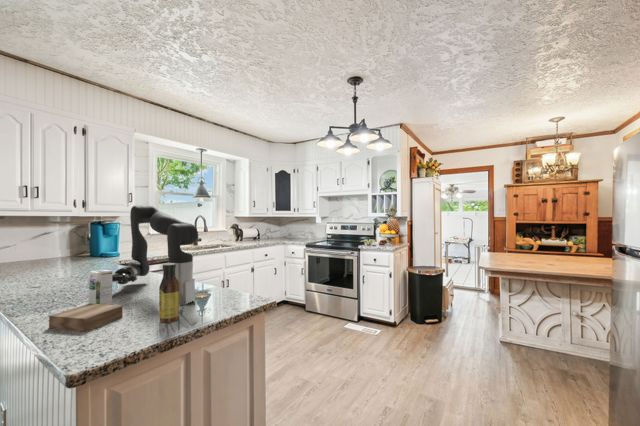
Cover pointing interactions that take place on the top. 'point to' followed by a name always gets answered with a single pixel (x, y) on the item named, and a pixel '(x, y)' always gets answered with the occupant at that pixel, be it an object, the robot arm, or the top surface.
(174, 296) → the sauce bottle
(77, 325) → the walnut plinth
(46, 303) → the top surface
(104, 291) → the syrup box
